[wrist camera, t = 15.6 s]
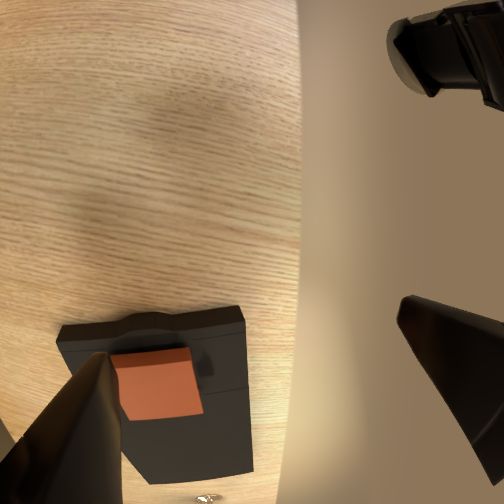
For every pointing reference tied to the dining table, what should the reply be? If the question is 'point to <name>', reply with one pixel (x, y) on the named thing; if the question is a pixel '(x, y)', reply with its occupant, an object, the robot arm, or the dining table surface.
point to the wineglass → (209, 498)
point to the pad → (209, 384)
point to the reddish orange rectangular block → (157, 384)
